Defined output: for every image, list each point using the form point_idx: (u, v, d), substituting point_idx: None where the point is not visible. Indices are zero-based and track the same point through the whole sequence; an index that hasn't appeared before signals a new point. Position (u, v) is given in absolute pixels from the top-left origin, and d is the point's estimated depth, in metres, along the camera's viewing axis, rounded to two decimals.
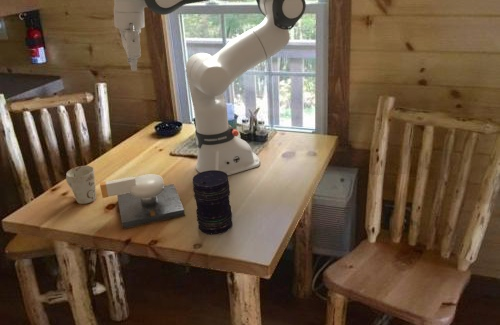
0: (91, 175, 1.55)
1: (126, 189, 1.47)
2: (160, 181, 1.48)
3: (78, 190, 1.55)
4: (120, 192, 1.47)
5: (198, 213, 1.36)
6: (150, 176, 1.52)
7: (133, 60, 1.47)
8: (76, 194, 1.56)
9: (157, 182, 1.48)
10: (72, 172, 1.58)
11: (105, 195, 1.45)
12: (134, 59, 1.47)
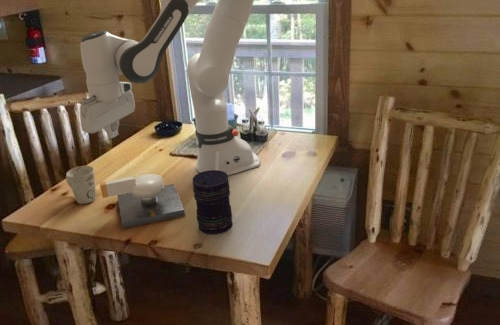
0: (91, 175, 1.55)
1: (126, 189, 1.47)
2: (160, 181, 1.48)
3: (78, 190, 1.55)
4: (120, 192, 1.47)
5: (198, 213, 1.36)
6: (150, 176, 1.52)
7: (105, 128, 1.43)
8: (76, 194, 1.56)
9: (157, 182, 1.48)
10: (72, 172, 1.58)
11: (105, 195, 1.45)
12: (105, 127, 1.43)
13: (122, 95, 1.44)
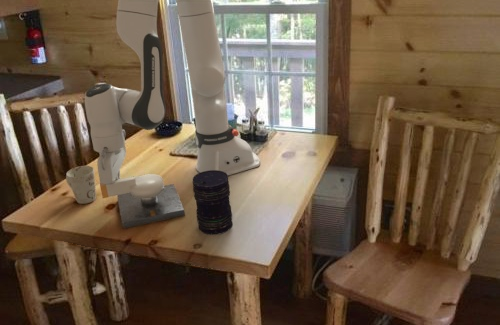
0: (91, 175, 1.55)
1: (126, 189, 1.47)
2: (160, 181, 1.48)
3: (78, 190, 1.55)
4: (120, 192, 1.46)
5: (198, 213, 1.36)
6: (150, 176, 1.52)
7: None
8: (76, 194, 1.56)
9: (158, 182, 1.48)
10: (72, 172, 1.58)
11: (105, 195, 1.45)
12: None
13: None
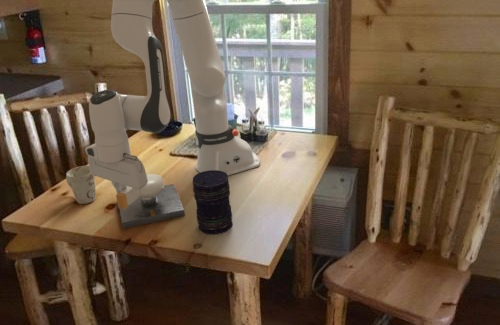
0: (91, 175, 1.55)
1: (138, 193, 1.44)
2: (158, 176, 1.51)
3: (78, 190, 1.55)
4: (134, 198, 1.42)
5: (198, 213, 1.36)
6: None
7: (124, 185, 1.40)
8: (76, 194, 1.56)
9: (157, 177, 1.51)
10: (72, 172, 1.58)
11: (126, 205, 1.39)
12: None
13: None
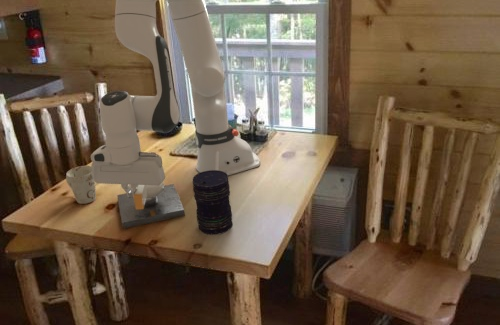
0: (91, 175, 1.55)
1: (146, 193, 1.44)
2: None
3: (78, 190, 1.55)
4: (145, 198, 1.42)
5: (198, 213, 1.36)
6: None
7: (137, 186, 1.39)
8: (76, 194, 1.56)
9: None
10: (72, 172, 1.58)
11: (143, 205, 1.38)
12: (137, 185, 1.39)
13: None
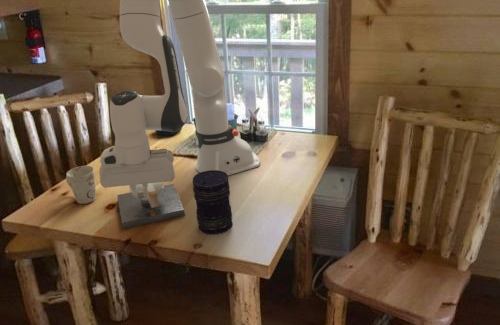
0: (91, 175, 1.55)
1: None
2: None
3: (78, 190, 1.55)
4: None
5: (198, 213, 1.36)
6: None
7: (147, 185, 1.39)
8: (76, 194, 1.56)
9: None
10: (72, 172, 1.58)
11: (157, 202, 1.39)
12: None
13: None
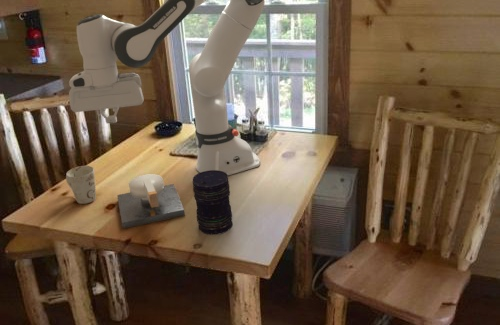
0: (91, 175, 1.55)
1: None
2: (149, 174, 1.53)
3: (78, 190, 1.55)
4: None
5: (198, 213, 1.36)
6: (135, 181, 1.49)
7: None
8: (76, 194, 1.56)
9: (150, 175, 1.52)
10: (72, 172, 1.58)
11: (157, 202, 1.39)
12: None
13: None
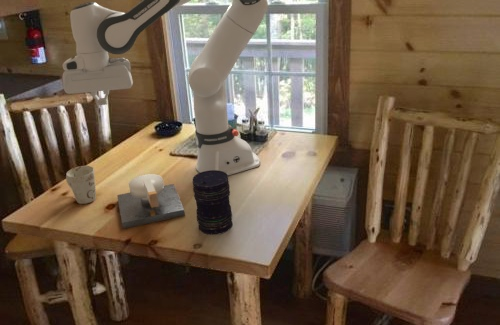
0: (91, 175, 1.55)
1: None
2: (149, 174, 1.53)
3: (78, 190, 1.55)
4: None
5: (198, 213, 1.36)
6: (135, 181, 1.49)
7: (108, 93, 1.53)
8: (76, 194, 1.56)
9: (150, 175, 1.52)
10: (72, 172, 1.58)
11: (157, 202, 1.39)
12: (108, 92, 1.53)
13: None
